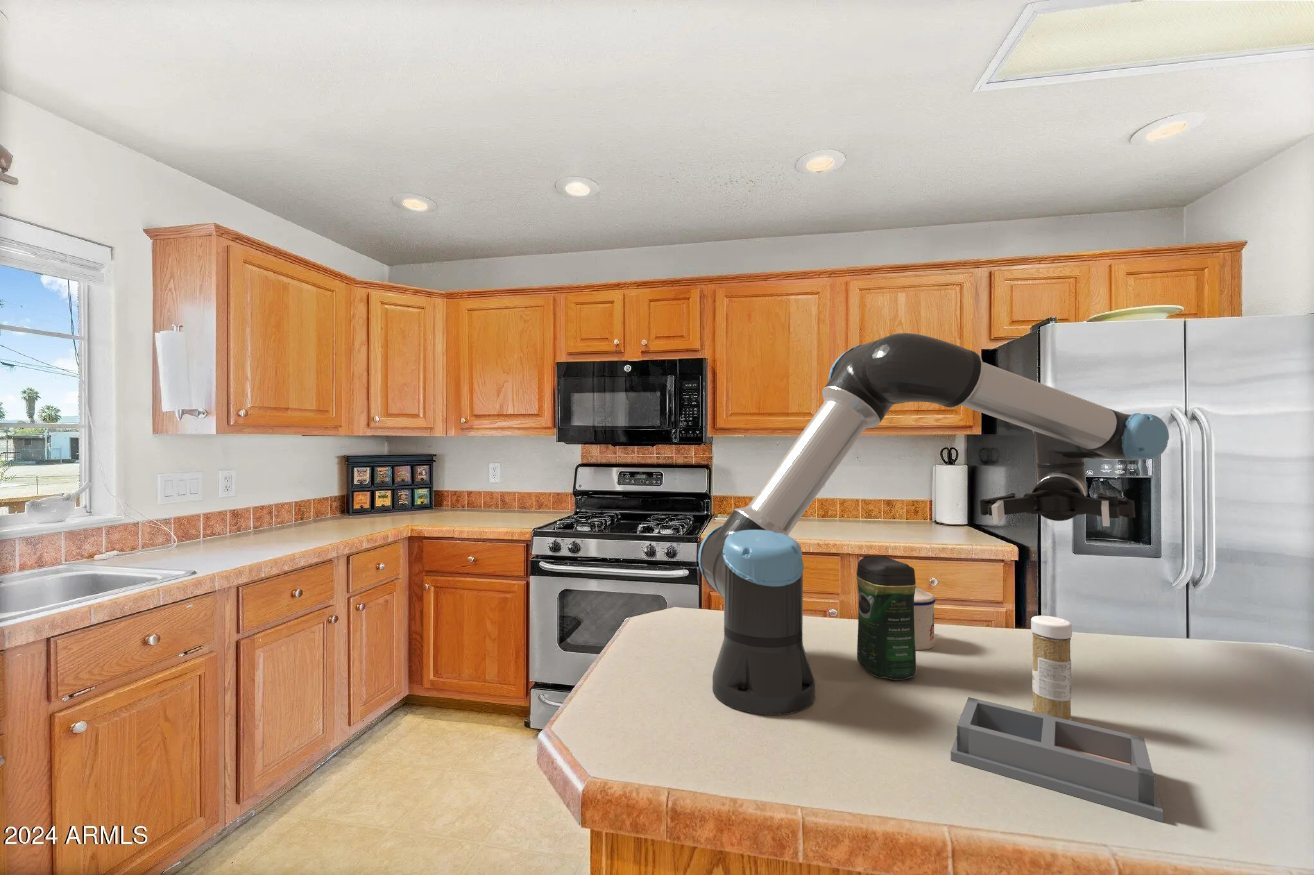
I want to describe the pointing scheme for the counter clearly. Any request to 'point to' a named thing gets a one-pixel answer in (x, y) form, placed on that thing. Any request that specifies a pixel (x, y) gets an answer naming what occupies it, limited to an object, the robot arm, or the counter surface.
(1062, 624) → the sprinkles bottle
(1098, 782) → the bottle caddy
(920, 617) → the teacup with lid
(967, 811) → the counter surface
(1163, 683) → the counter surface
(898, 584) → the coffee jar
